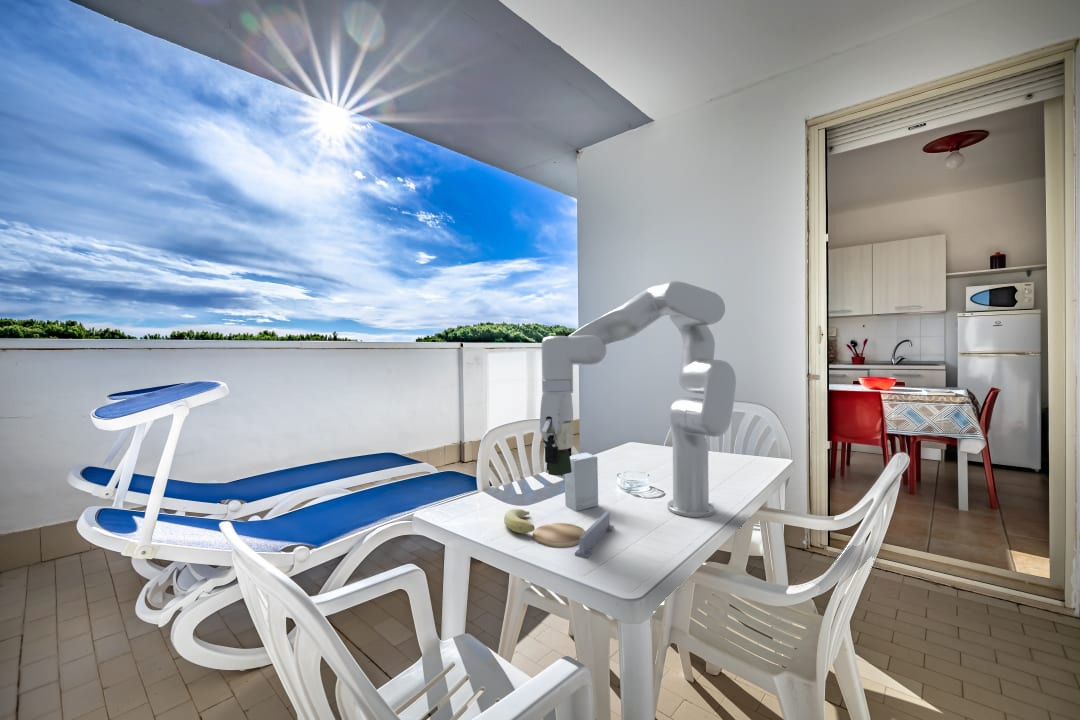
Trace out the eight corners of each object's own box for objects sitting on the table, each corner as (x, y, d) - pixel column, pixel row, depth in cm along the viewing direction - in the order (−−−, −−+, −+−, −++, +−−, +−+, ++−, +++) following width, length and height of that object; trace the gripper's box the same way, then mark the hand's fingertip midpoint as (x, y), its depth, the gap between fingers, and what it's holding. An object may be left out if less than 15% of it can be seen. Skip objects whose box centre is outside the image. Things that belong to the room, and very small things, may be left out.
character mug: (536, 471, 114) (536, 419, 113) (562, 467, 117) (561, 417, 116) (555, 482, 104) (554, 425, 104) (582, 478, 107) (582, 423, 106)
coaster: (547, 522, 119) (547, 519, 119) (593, 530, 113) (593, 527, 113) (523, 541, 108) (523, 538, 108) (573, 551, 102) (573, 548, 102)
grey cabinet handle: (602, 526, 116) (602, 510, 116) (613, 528, 115) (613, 512, 115) (574, 555, 100) (574, 537, 100) (587, 557, 98) (587, 539, 98)
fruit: (505, 538, 108) (504, 525, 108) (503, 517, 123) (502, 505, 123) (535, 535, 109) (534, 521, 109) (529, 514, 124) (528, 502, 124)
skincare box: (587, 500, 136) (586, 451, 136) (599, 506, 131) (598, 455, 130) (563, 505, 132) (563, 455, 132) (575, 512, 127) (574, 459, 126)
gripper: (558, 384, 119) (559, 450, 120) (526, 389, 104) (528, 466, 104) (585, 384, 116) (586, 453, 116) (556, 390, 100) (557, 469, 101)
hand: (558, 458), depth 110 cm, fingers closed on character mug, 7 cm apart
